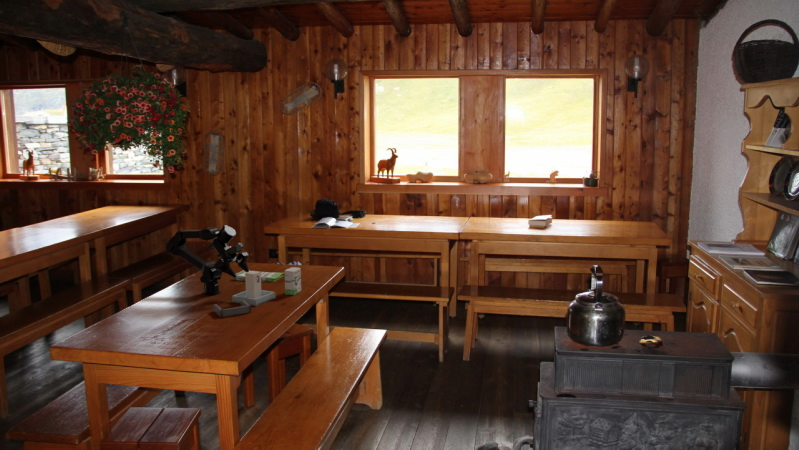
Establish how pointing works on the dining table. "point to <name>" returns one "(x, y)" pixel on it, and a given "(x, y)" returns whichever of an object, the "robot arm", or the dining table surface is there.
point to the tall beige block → (253, 284)
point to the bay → (233, 310)
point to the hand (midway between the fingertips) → (242, 274)
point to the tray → (255, 302)
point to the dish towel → (264, 276)
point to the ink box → (292, 281)
